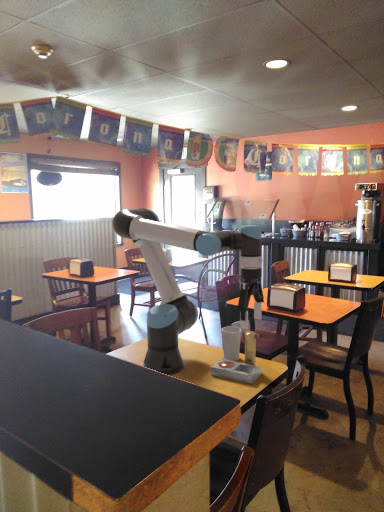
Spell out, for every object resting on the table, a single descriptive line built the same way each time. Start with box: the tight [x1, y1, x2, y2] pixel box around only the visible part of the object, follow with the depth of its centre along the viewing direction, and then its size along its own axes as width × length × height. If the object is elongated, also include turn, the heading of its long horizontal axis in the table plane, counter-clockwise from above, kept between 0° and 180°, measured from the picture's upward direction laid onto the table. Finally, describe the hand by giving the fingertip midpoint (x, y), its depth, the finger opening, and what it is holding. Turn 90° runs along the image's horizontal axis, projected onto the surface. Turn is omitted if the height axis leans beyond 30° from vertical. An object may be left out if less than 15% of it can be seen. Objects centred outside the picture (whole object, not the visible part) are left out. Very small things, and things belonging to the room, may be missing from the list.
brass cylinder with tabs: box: [241, 330, 260, 365], centre depth 148 cm, size 6×4×14 cm, turn 60°
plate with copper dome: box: [210, 358, 262, 385], centre depth 144 cm, size 16×9×3 cm, turn 60°
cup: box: [221, 326, 242, 362], centre depth 159 cm, size 8×8×12 cm
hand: (251, 323), depth 147 cm, fingers open, 13 cm apart
